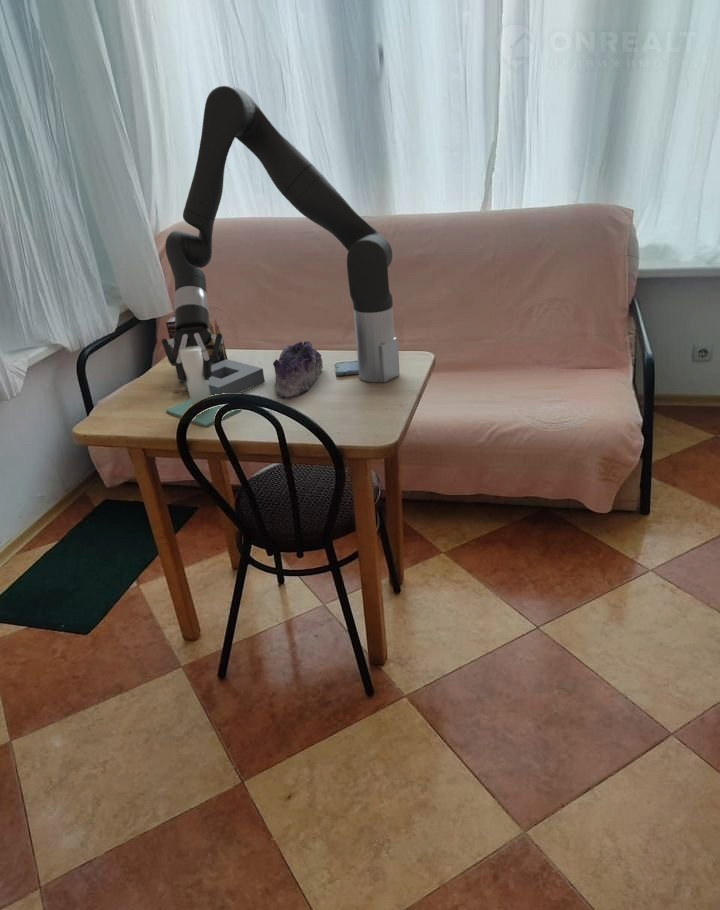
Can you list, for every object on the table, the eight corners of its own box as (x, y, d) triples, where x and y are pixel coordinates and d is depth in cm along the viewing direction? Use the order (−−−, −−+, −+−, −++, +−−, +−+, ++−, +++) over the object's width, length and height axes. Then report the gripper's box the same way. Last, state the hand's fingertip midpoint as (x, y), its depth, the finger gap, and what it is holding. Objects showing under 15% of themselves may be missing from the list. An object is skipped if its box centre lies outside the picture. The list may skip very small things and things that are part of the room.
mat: (241, 410, 144) (240, 408, 144) (206, 427, 138) (205, 424, 137) (201, 397, 153) (200, 394, 153) (166, 412, 146) (165, 410, 146)
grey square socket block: (264, 381, 159) (262, 368, 157) (221, 401, 150) (218, 387, 148) (229, 371, 167) (226, 359, 165) (185, 389, 158) (182, 376, 156)
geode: (316, 399, 147) (305, 360, 142) (270, 406, 149) (257, 368, 144) (330, 364, 164) (320, 328, 159) (288, 371, 167) (277, 336, 162)
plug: (215, 399, 146) (204, 346, 139) (206, 408, 142) (194, 353, 136) (197, 399, 147) (185, 345, 141) (188, 407, 143) (175, 352, 137)
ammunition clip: (190, 362, 176) (181, 320, 170) (193, 360, 178) (184, 318, 172) (225, 363, 173) (217, 320, 168) (228, 360, 175) (220, 318, 169)
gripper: (155, 306, 140) (157, 376, 136) (219, 299, 141) (223, 369, 136) (165, 322, 148) (167, 389, 143) (226, 316, 148) (230, 383, 143)
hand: (195, 379), depth 140 cm, fingers closed on plug, 4 cm apart
